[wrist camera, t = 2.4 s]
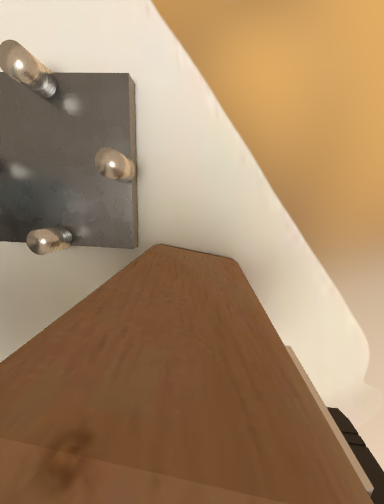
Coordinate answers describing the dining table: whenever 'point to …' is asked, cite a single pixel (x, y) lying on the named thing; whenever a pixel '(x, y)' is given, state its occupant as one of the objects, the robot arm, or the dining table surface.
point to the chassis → (66, 156)
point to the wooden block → (166, 399)
